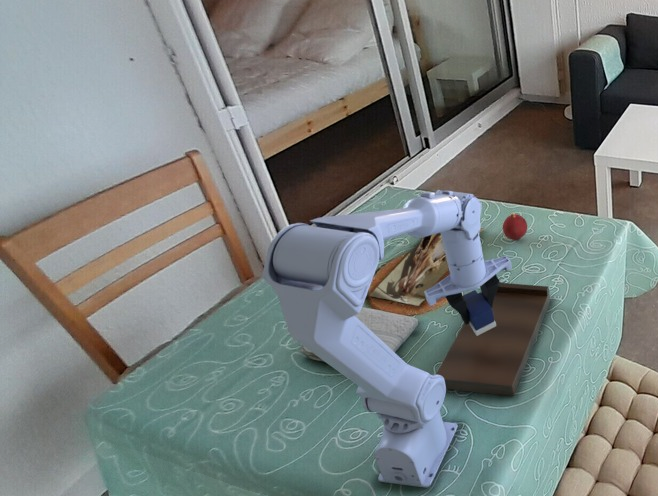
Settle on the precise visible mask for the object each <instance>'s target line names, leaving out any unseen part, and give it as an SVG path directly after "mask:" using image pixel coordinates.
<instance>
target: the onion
mask: <svg viewBox="0 0 658 496" xmlns="http://www.w3.org/2000/svg"><path fill="white" fill-rule="evenodd" d="M502 232H503V234H504V236H505V237H506V238H507V239H509V240H512V241H519V240H520V239H522V238H523V237H524V236H525V235H526V234H527V232H528V223H527V221H526V219H525V218H524V217H523V216H522V215H520V214H518V213H515V212H512V213H511V214H509V216H507V217H506V218H505V219H504V221H503V224H502Z"/></svg>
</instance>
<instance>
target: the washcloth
mask: <svg viewBox="0 0 658 496" xmlns="http://www.w3.org/2000/svg"><path fill="white" fill-rule="evenodd" d="M355 317H357V318H358V319H359V320H360V321H361V322H362V323H363V324H364V325H365V326H366V327H367V328H368V329H370V330H371V331H372V332H373V333H374V334H375V335H376V336H377V337H378V338H379V339H380V340H381V341H383V342H384V343H385V344H386V345H387V346H388V347H389V348H390V349H391V350H392V351H393V352H394V353H396V352H397V351H398V349H400V347H401V346H402V345H403V344H404V343H405V342H406V341H407V340H408V338H410V335H411V334H412V333H413V332H414V330H415V329H416V328H417V327H418V325H419V320H418V318H415V317H414V316H410V315H404V314H398V313H394V312H389V311H385V310H379V309H376V308H375V309H374V308H370V307H369V308H368V307H364V306H362V309H361V312H360V313H359V314H357V315H355ZM300 347H301V349H300V353H301V354H303V355H306V356H307V357H308V358H310V359H311V360H315V361H319V362H324V361H323V360H322V359H321V358H319V357H318V356H317V355H315V354H314V353H312V352H311V351H310V350H308V349H307V348H306V347H304V346H303V345H301V344H300Z"/></svg>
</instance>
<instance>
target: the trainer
mask: <svg viewBox="0 0 658 496" xmlns="http://www.w3.org/2000/svg"><path fill="white" fill-rule="evenodd" d="M462 296H463V297H464V299H465V300H466V310H467V314H468V317H469V324H470V326H471V328H472V329H473V331H474V332H475V334H476V336H478V335H480V334H482V333H484V332H486V331H488V330H490V329H491V328H493V327H495V326H496V322H495V320H494V316H493V311H492V308H491V307H490V305H489V304H488V302H487V301H486V299H485V298H484V297H483V295H482V294H481V291H480V292H477V289H474V290H471V291H468V292H467V293H465V294H462Z"/></svg>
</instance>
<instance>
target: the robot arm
mask: <svg viewBox="0 0 658 496" xmlns="http://www.w3.org/2000/svg"><path fill="white" fill-rule="evenodd" d="M482 204H483V203H482V201H480V200H479V198H477V197H476V196H475V195H474V194H473V193H468V192H459V191H453V190H441V189H437V190H435V191H434V192H428V191H423V192H422V191H421V192H420V196H418V197H413V198H411V199H409V200H408V201H407V202H405V203H404V205H403V206H402V208H394V209H384V210H375V211H366V212H356V213H348V214H347V213H346V214H339V215H338V214H337V215H329V216H321V217H317V218H313V219H310V220H309V222H310V223H312V224H314V225H315V226H314V225H310V224H308V223H303V222H296V223H291V224H288V225H286V226H285V227H283V228H282V229H281V230H280V231H278V232H277V233H276V235H274V237H273V238H272V240H271V242H270V243H269V246H268V248H267V252H266V256H265V262H264V265H263V271H262V279H263V280H264V281H265V282H266V283H267V284H268V285H269V286H270V287H271V288H272V290H274V291H275V292H276V294H277V299H278V301H279V304H280V308H281V310H282V315H283V317H284V322H285V324H286V328H287V331H288V333H289V335H290V336H291V338H292V339H293V340H295V341H296V342H297V343H298V344H300V346H301V345H303V346H304V347H306V348H307V349H308V350H310V351H311V352H312V353H314V354H315V355H317V356H318V357H319V358H321V359H322V360H323V361H322V362H325V363H326V364H328V365H329V366H330V367H332V368H333V369H334V370H336V371H337V372H338V373H339V374H341V375H343V376H344V377H345V378H346V379H348V380H349V381H350V382H352V383H354V384H355V385H356V386H357V389H356V391H355V394H356V395H358V396H359V397H360V399H361V402H362V407H363V409H364V410H365V411H366V412H368V413H376V415H377V418H378V419H379V420H381V421H382V422H383V429H382V433H381V437H380V440H379V443H378V445H377V447H376V449H375V450H374V454H373V456H374V457H373V458H374V460H375V462H376V465H377V466H378V470H379V472H380V473H379V476H378V478H377V479H378V481H379V482H381V483H389V484H394V485H395V484H396V485H403V486H411V487H418V488H427V489H428V488H429V487H430V486H431V485H432V484H433V482H434V479H435V477H436V475H437V473H438V470H439V469H440V466H441V464H442V462H443V460H444V458H445V456H446V453H447V451H448V449H449V446H450V445H451V443H452V440H453V439H454V436H455V434H456V432H457V430H458V428H459V426H458V423H457V422H448V421H443V417H442V413H441V409H442V407H443V405H444V401H445V398H446V394H447V393H446V392H447V389H446V385H445V380H444V378H443V377H442V376H441V375H435V374H430V373H429V372H427V371H425V370H422V369H420V368H418V367H415V366H412V365H410V364H408V363H406V362H405V360H403V359H402V358H401V357H400V356H399V355H398V354H397V353H396V352H395V353H394V352H393V351H392V350H391V349H390V348H389V347H388V346H387V345H386V344H385V343H384V342H383V341H381V340H380V339H379V338H378V337H377V336H376V335H375V334H374V333H373V332H372V331H371V330H370V329H368V328H367V327H366V326H365V325H364V324H363V323H362V322H361V321H360V320H359V319H358V318H357V317H355V315H357V314H359V313H360V312H361V309H362V307H364V304H365V300H366V298H367V297H368V296H367V295H368V292H369V290H370V288H371V284H372V282H373V279H374V276H375V274H376V271H377V269H378V266H379V263H380V261H382V260H383V258H384V255H385V242H386V241H388V240H391V239H393V238H394V239H395V238H398V237H400V236H403V235H409V236H410V237H413V238H418V239H420V238H423V237H426V236H430V235H433V234H437V233H441V237H442V241H443V245H444V249H445V254H446V258H447V263H448V267H449V269H448V271H449V275H447V276H446V277H444V278H443V279H441V280H439V281H438V282H437V283H436V284H435V285H434V286H433V287H432V288H430V289H428V290H426V291H424V293H425V296H424V297H425V298H426V299H425V301H426V302H427V304H428V306H429V307H432V306H435V305H436V304H437V301H440V300H442V299H444V298H445V299H446V302H448V305H449V306H450V307H451V308H452V309H453V310H455V311H456V312H457V313H458V314H459V315H460V317H461V320H462V321H463V324H464V323H465V325H467V324H469V317H468V314H467V310H466V300H465V299H464V297H463V293H466V292H471V291H474V290H477V289H479V288H480V292H481V293H482V295H483V297H484V298H485V299H486V301H487V302H488V304H489V305H490V307H491V308H492V306H493V301H494V297H495V294H496V292H497V290H498V288H499V286H500V283H501V282H500V279H499V278H498V276H497V274H498V273H501V272H502V271H505V272H509V271H511V270H512V269H513V267H512V261H511V259H510V258H509V257H508V256H507V255H503V256H501V257H497V258H492V259H487V260H485V259H484V252H483V248H482V242H481V238H480V235H479V231H480V228H481V227H482V225H481V215H482V211H483V210H482V209H483V208H482Z"/></svg>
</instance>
